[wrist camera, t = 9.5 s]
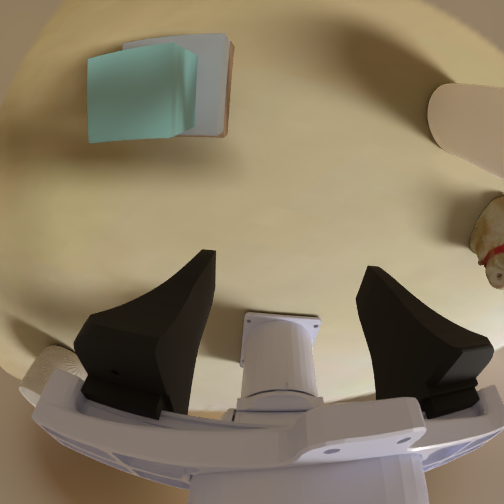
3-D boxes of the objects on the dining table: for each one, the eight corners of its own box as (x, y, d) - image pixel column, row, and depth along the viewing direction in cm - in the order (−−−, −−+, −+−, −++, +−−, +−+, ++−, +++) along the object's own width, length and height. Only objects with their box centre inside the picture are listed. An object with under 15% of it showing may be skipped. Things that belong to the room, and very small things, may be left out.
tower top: (223, 131, 17) (217, 135, 15) (135, 131, 17) (119, 136, 15) (230, 41, 14) (224, 33, 12) (139, 48, 14) (123, 43, 12)
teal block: (194, 126, 15) (170, 138, 11) (127, 129, 15) (89, 143, 11) (197, 55, 12) (173, 42, 9) (128, 63, 13) (87, 59, 9)
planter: (61, 372, 41) (41, 414, 31) (35, 330, 34) (6, 376, 25) (111, 389, 41) (93, 438, 31) (88, 347, 34) (59, 404, 25)
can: (414, 91, 16) (526, 106, 6) (465, 77, 14) (569, 93, 4) (436, 163, 19) (533, 224, 8) (482, 143, 17) (576, 190, 7)
